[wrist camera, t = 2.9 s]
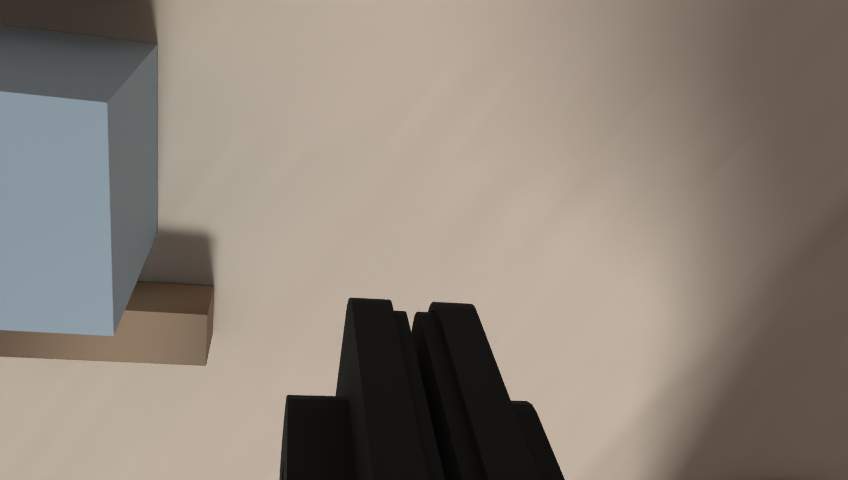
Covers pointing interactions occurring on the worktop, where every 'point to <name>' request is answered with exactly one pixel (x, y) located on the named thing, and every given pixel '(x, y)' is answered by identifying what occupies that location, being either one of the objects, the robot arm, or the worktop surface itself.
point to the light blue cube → (75, 178)
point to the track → (134, 331)
